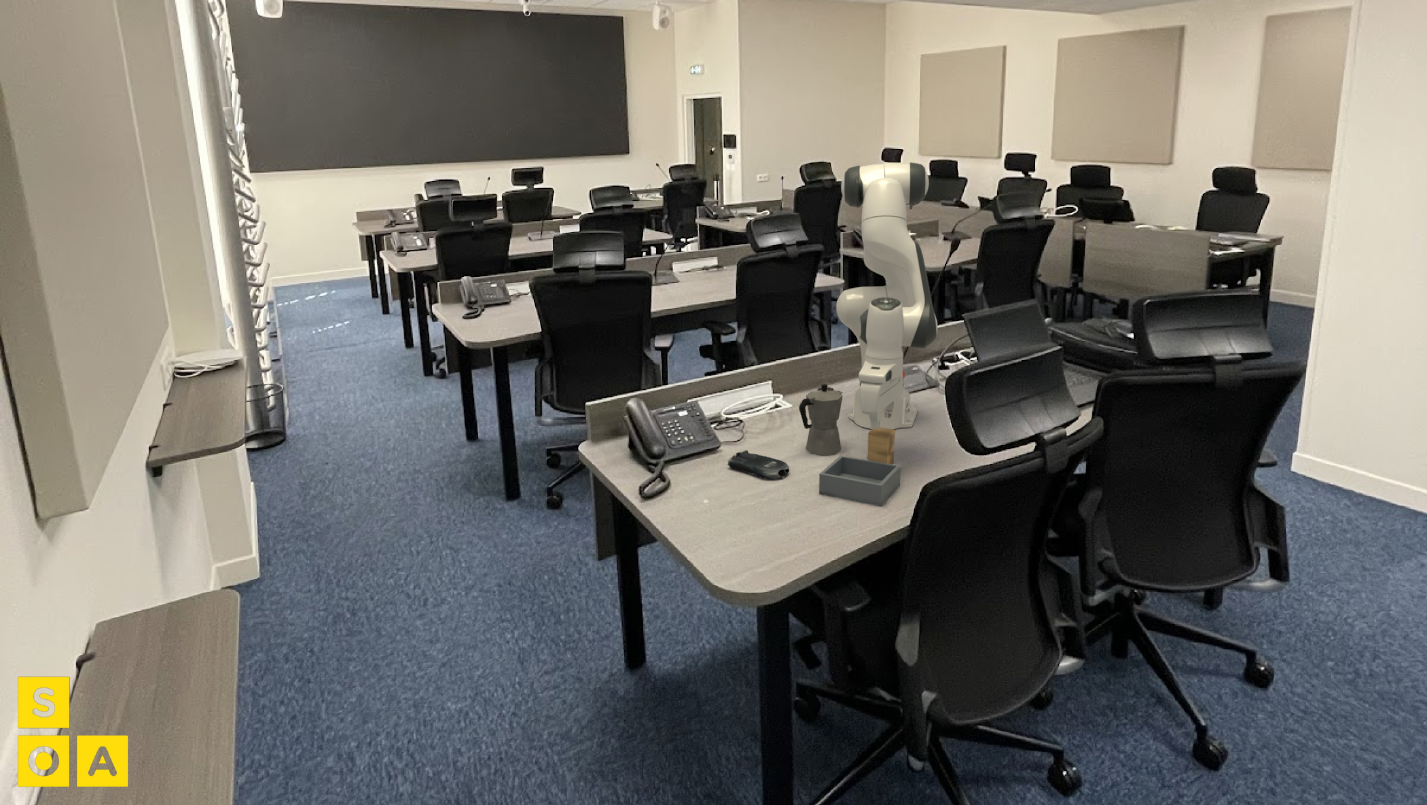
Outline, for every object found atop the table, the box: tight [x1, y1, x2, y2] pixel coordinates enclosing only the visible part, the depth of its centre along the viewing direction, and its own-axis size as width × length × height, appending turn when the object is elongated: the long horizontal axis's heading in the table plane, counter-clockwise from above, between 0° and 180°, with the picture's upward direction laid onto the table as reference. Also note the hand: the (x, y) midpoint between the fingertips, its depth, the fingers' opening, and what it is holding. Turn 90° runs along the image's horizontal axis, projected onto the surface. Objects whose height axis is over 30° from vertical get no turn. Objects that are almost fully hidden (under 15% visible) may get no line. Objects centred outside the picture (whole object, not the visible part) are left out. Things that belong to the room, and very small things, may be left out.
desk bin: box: [818, 454, 901, 507], centre depth 203 cm, size 13×15×5 cm
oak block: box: [866, 427, 896, 465], centre depth 214 cm, size 5×5×10 cm
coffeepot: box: [798, 383, 844, 457], centre depth 225 cm, size 15×9×18 cm, turn 129°
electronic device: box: [727, 449, 790, 480], centre depth 216 cm, size 9×6×15 cm
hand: (882, 422), depth 211 cm, fingers open, 8 cm apart
